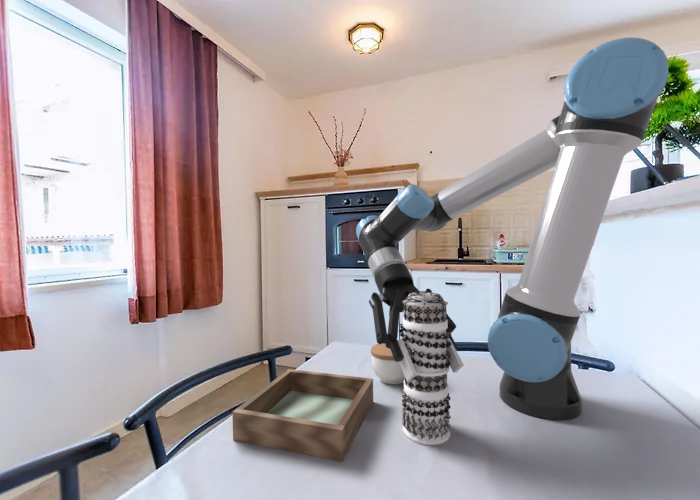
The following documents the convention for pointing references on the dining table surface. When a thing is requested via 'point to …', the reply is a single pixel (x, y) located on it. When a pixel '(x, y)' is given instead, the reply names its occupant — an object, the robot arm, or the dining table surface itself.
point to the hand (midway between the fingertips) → (435, 373)
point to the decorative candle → (426, 369)
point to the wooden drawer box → (306, 413)
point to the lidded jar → (386, 365)
